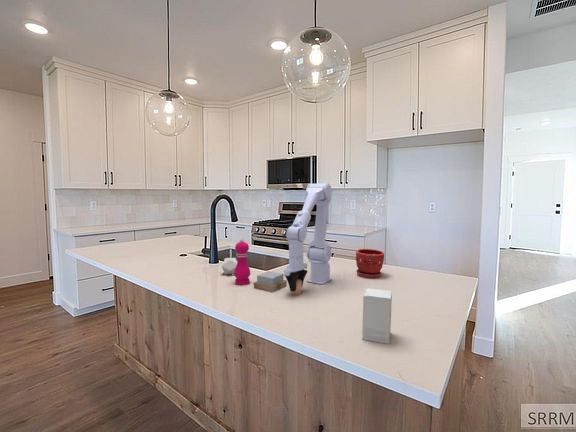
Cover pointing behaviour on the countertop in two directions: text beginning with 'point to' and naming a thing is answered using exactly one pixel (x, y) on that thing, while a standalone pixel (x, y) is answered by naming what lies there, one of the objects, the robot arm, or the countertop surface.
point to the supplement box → (377, 315)
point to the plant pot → (369, 262)
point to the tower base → (270, 286)
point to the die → (229, 265)
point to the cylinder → (298, 287)
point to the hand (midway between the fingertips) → (296, 289)
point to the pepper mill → (242, 263)
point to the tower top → (270, 278)
